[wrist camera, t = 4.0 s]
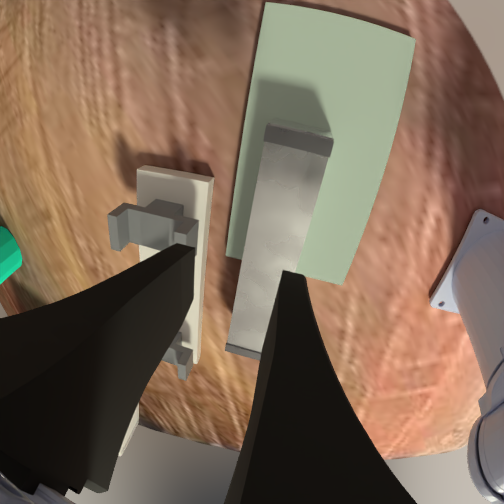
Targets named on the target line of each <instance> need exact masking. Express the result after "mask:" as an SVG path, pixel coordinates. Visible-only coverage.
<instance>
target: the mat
mask: <svg viewBox="0 0 504 504" xmlns="http://www.w3.org/2000/svg"><path fill="white" fill-rule="evenodd" d="M415 41H416V39H414V38H412V37H409V36H407V35H404V34H401V33H399V32H396V31H393V30H390V29H388V28H385V27H382V26H379V25H375V24H372V23H369V22H366V21H362V20H359V19H355V18H351V17H348V16H344V15H340V14H335V13H331V12H327V11H322V10H317V9H312V8H306V7H300V6H294V5H287V4H279V3H270V2H266V4H265V9H264V14H263V20H262V25H261V30H260V36H259V41H258V47H257V52H256V58H255V63H254V69H253V75H252V81H251V87H250V93H249V99H248V105H247V111H246V117H245V123H244V130H243V136H242V143H241V149H240V156H239V162H238V169H237V176H236V183H235V190H234V197H233V204H232V211H231V219H230V226H229V233H228V241H227V249H226V256H229V257H233V258H236V259H240V260H242V258H243V253H244V247H245V242H246V236H247V231H248V226H249V220H250V215H251V210H252V204H253V199H254V194H255V188H256V183H257V178H258V173H259V167H260V162H261V157H262V152H263V147H264V141H263V139H264V134H265V129H266V124H268V122H270V121H272V120H273V119H275V118H279V119H284V120H288V121H292V122H297V123H301V124H305V125H309V126H313V127H317V128H321V129H324V130H328V131H331V132H332V135H333V138H334V144H333V148H332V152H331V156H330V158H328V162H327V165H326V169H325V173H324V177H323V180H322V184H321V187H320V191H319V194H318V198H317V201H316V205H315V208H314V212H313V215H312V219H311V222H310V225H309V229H308V232H307V235H306V239H305V242H304V245H303V249H302V252H301V255H300V258H299V261H298V265H297V268H296V271H295V273H299V274H303V275H304V276H306V277H310V278H314V279H318V280H322V281H326V282H330V283H334V284H338V285H342V284H343V282H344V280H345V277H346V275H347V272H348V270H349V268H350V265H351V263H352V260H353V258H354V255H355V253H356V250H357V248H358V245H359V242H360V240H361V237H362V234H363V232H364V229H365V226H366V224H367V221H368V218H369V215H370V212H371V210H372V207H373V204H374V201H375V198H376V195H377V192H378V189H379V186H380V183H381V180H382V177H383V173H384V170H385V167H386V164H387V160H388V157H389V154H390V150H391V147H392V143H393V140H394V136H395V132H396V129H397V125H398V121H399V117H400V113H401V109H402V105H403V101H404V97H405V92H406V88H407V83H408V79H409V74H410V69H411V64H412V58H413V53H414V47H415Z"/></svg>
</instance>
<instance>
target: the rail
mask: <svg viewBox="0 0 504 504" xmlns="http://www.w3.org/2000/svg"><path fill="white" fill-rule="evenodd" d="M263 141H264V147H263V152H262V157H261V162H260V167H259V173H258V178H257V183H256V188H255V194H254V199H253V204H252V210H251V215H250V220H249V226H248V231H247V236H246V242H245V247H244V253H243V258H242V264H241V269H240V274H239V280H238V285H237V291H236V296H235V302H234V307H233V313H232V319H231V324H230V330H229V335H228V340H227V343H226V347H225V351H228V352H231V353H235V354H238V355H242V356H245V357H249V358H252V359H256V360H260V358H261V352H262V347H263V343H264V339H265V335H266V332H267V328H268V324H269V320H270V317H271V313H272V309H273V305H274V302H275V298H276V294H277V290H278V286H279V282H280V279H281V275H282V271H283V270H286V271H290V272H294V273H295V271H296V268H297V265H298V261H299V258H300V255H301V252H302V249H303V245H304V242H305V239H306V235H307V232H308V229H309V225H310V222H311V219H312V215H313V212H314V208H315V205H316V201H317V198H318V194H319V191H320V187H321V184H322V180H323V177H324V173H325V169H326V165H327V162H328V158H330V156H331V152H332V148H333V144H334V138H333V135H332V132H331V131H328V130H324V129H321V128H317V127H313V126H309V125H305V124H301V123H297V122H292V121H288V120H284V119H279V118H275V119H273V120H272V121H270V122H268V124H266V129H265V134H264V139H263Z"/></svg>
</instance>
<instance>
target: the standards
mask: <svg viewBox="0 0 504 504" xmlns="http://www.w3.org/2000/svg"><path fill="white" fill-rule="evenodd" d="M213 185H214V177H209V176H204V175H199V174H194V173H189V172H183V171H178V170H172V169H166V168H160V167H154V166H148V165H144V166H142V167H140V168H138V169H137V205H133V204H128V203H123V204H121V205H120V206H119V207H117V208H116V209H114V210H113V211H112V212H110V213H109V214H108V226H109V235H110V244H111V249H113V250H116V251H121V250H122V249H123V248H124V247H125V246H126V245H127V244H128V243H129V242H131V243H135V244H138V245H139V253H140V262H141V261H143V260H145V259H147V258H149V257H151V256H153V255H154V254H156V253H158V252H160V251H162V250H164V249H166V248H167V247H169V246H171V245H174V244H176V243H179V244H183V245H187V246H191V247H195V272H194V299H193V302H192V304H191V306H190V309H189V311H188V313H187V316H186V318H185V320H184V322H183V324H182V326H181V328H180V330H179V331H178V333H177V335H176V336H175V338H174V340H173V341H172V343H171V345H170V346H169V348H168V350H167V351H166V353H165V355H164V356H163V358H162V360H163V361H166V362H168V363H171V364H174V365H177V366H178V378H179V379H182V380H185V381H186V380H187V378H188V375H189V373H190V371H191V369H192V367H193V363H195V364H197V363H198V361H199V358H200V352H201V331H202V314H203V298H204V284H205V270H206V258H207V246H208V235H209V224H210V214H211V204H212V194H213Z"/></svg>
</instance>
